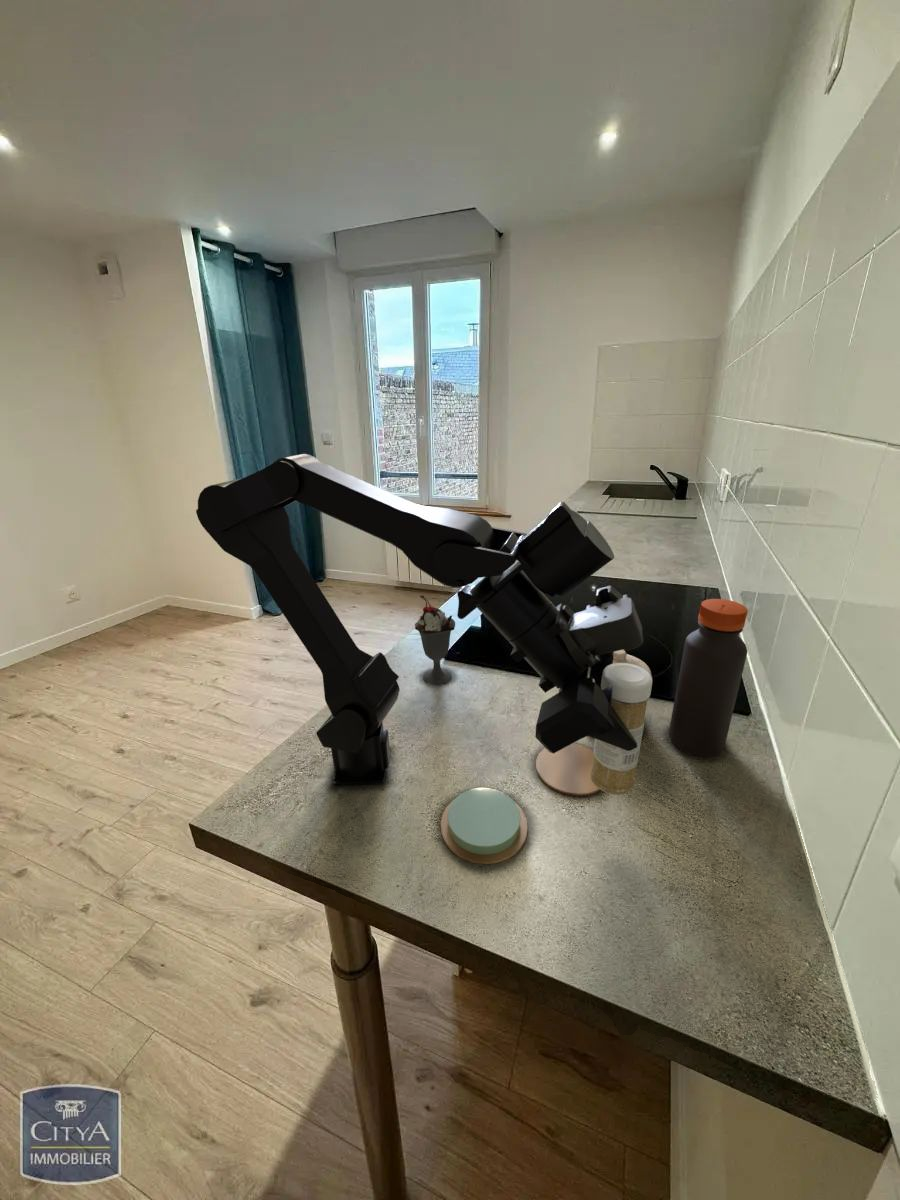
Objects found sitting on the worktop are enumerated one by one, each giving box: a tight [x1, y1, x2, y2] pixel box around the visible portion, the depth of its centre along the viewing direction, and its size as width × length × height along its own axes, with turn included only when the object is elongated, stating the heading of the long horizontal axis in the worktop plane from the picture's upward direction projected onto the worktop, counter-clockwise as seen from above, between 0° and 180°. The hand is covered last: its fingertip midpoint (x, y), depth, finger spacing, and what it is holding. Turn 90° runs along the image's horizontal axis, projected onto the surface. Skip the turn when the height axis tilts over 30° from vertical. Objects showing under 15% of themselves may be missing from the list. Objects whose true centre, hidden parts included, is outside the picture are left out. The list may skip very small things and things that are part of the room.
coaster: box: [535, 743, 602, 796], centre depth 60 cm, size 9×9×1 cm
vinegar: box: [668, 598, 749, 758], centre depth 60 cm, size 7×7×20 cm
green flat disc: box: [448, 787, 520, 855], centre depth 52 cm, size 8×8×1 cm
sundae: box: [414, 595, 456, 685], centre depth 78 cm, size 7×7×15 cm
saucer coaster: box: [440, 800, 528, 865], centre depth 52 cm, size 10×10×1 cm
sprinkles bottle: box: [590, 663, 653, 796], centre depth 48 cm, size 5×5×14 cm
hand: (633, 733), depth 48 cm, fingers closed on sprinkles bottle, 4 cm apart
